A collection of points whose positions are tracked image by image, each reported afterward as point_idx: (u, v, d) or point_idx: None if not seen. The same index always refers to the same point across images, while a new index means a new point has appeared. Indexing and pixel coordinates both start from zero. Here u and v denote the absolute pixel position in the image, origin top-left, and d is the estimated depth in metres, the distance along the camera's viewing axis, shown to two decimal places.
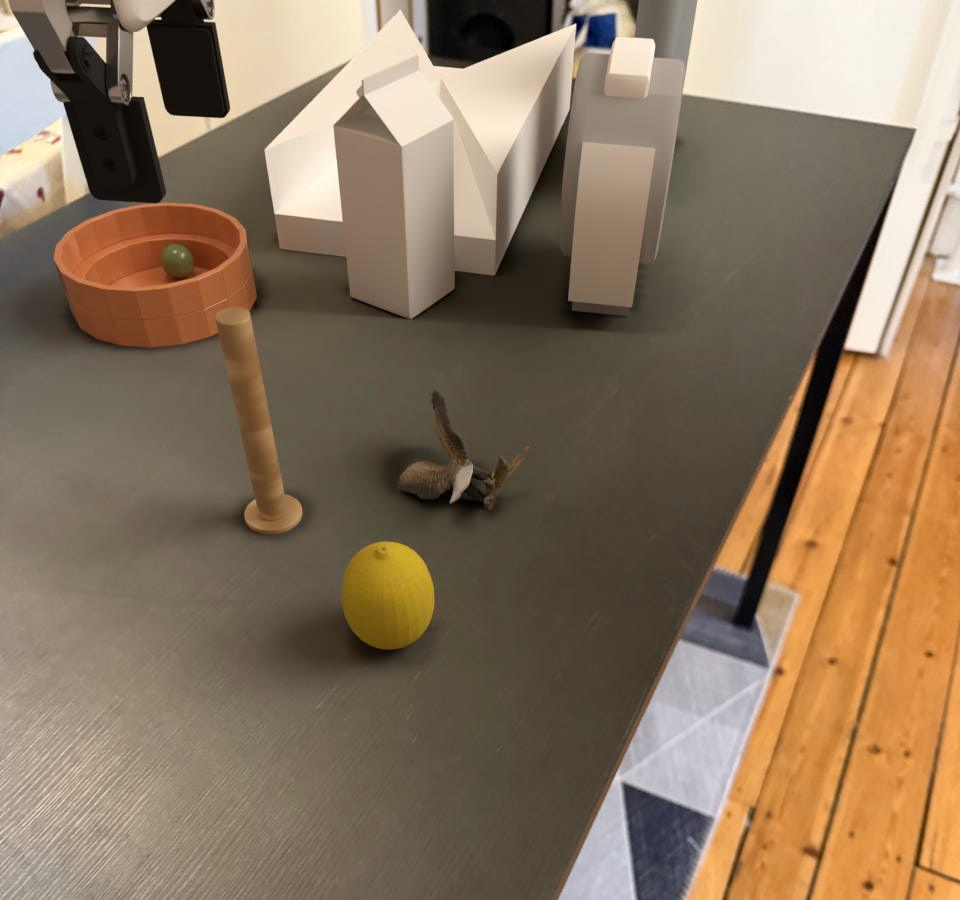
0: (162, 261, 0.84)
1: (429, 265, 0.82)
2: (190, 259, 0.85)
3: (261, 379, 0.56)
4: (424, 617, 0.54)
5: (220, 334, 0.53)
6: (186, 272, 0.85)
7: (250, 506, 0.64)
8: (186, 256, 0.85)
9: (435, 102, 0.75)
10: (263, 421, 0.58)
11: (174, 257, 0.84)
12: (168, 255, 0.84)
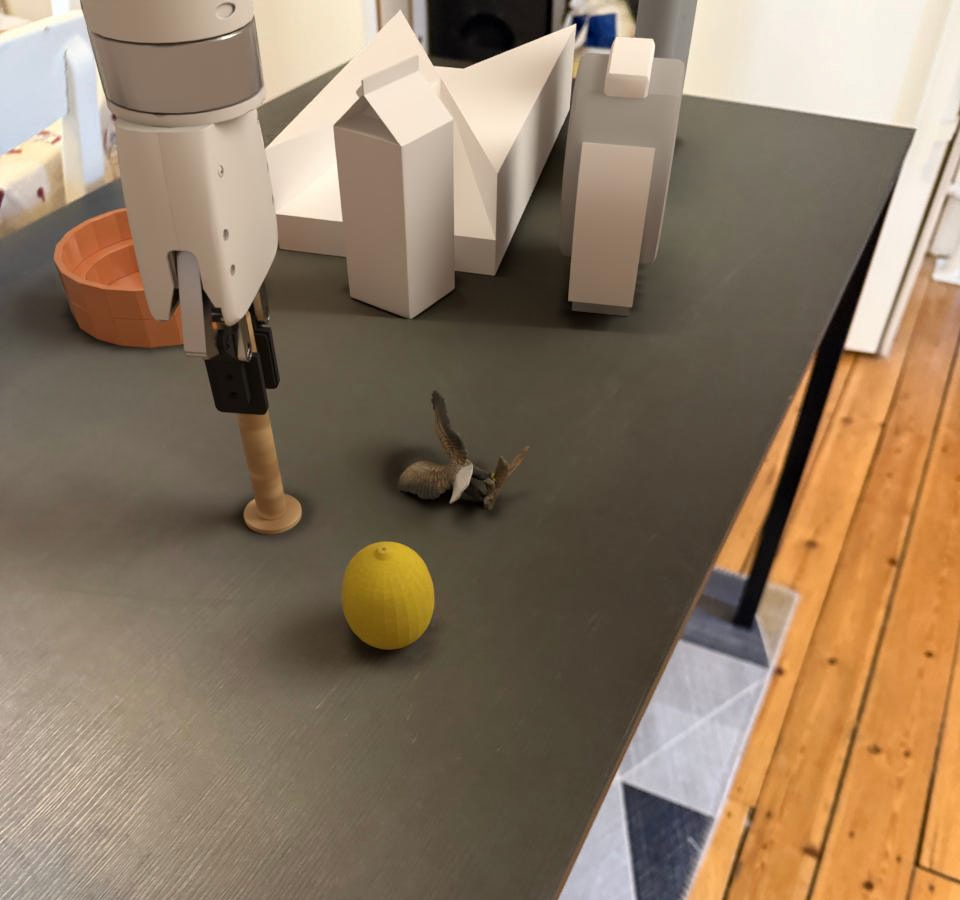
0: None
1: (429, 265, 0.82)
2: None
3: None
4: (424, 617, 0.54)
5: None
6: None
7: (250, 506, 0.64)
8: None
9: (435, 102, 0.75)
10: (263, 421, 0.58)
11: None
12: None
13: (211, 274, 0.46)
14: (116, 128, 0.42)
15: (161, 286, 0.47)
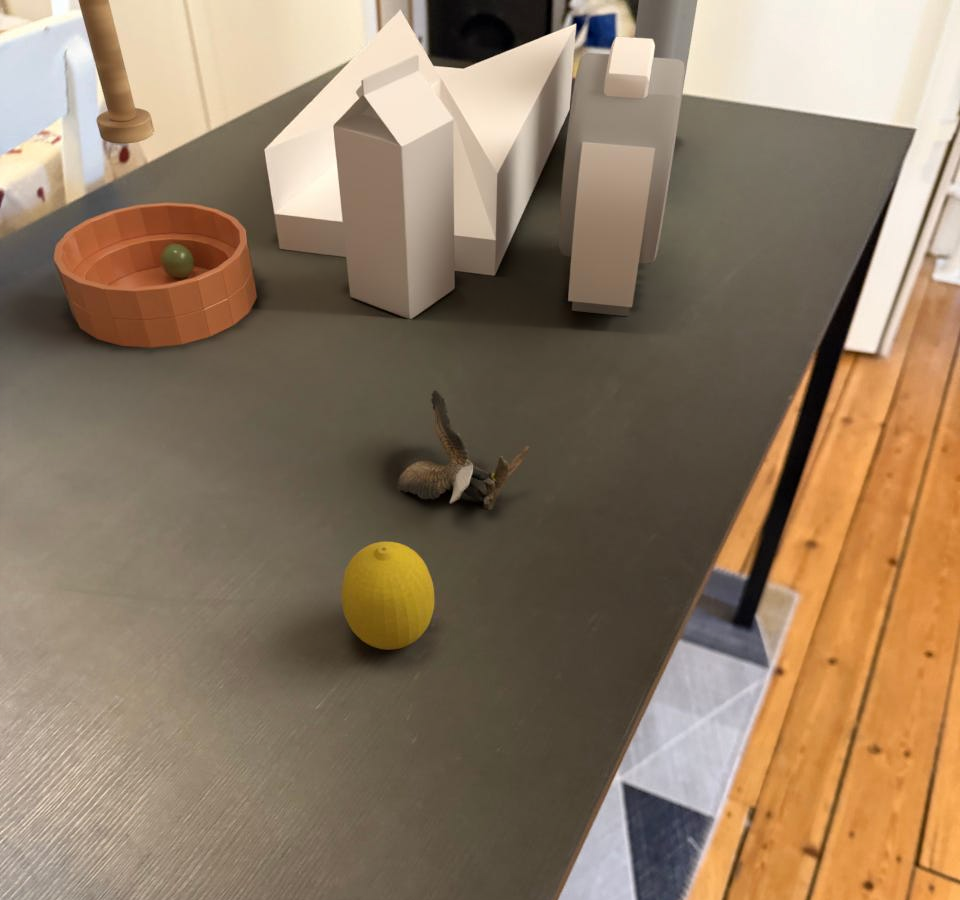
0: (162, 261, 0.84)
1: (429, 265, 0.82)
2: (190, 259, 0.85)
3: None
4: (424, 617, 0.54)
5: None
6: (186, 272, 0.85)
7: (103, 114, 0.70)
8: (186, 256, 0.85)
9: (435, 102, 0.75)
10: None
11: (174, 257, 0.84)
12: (168, 255, 0.84)
13: None
14: None
15: None
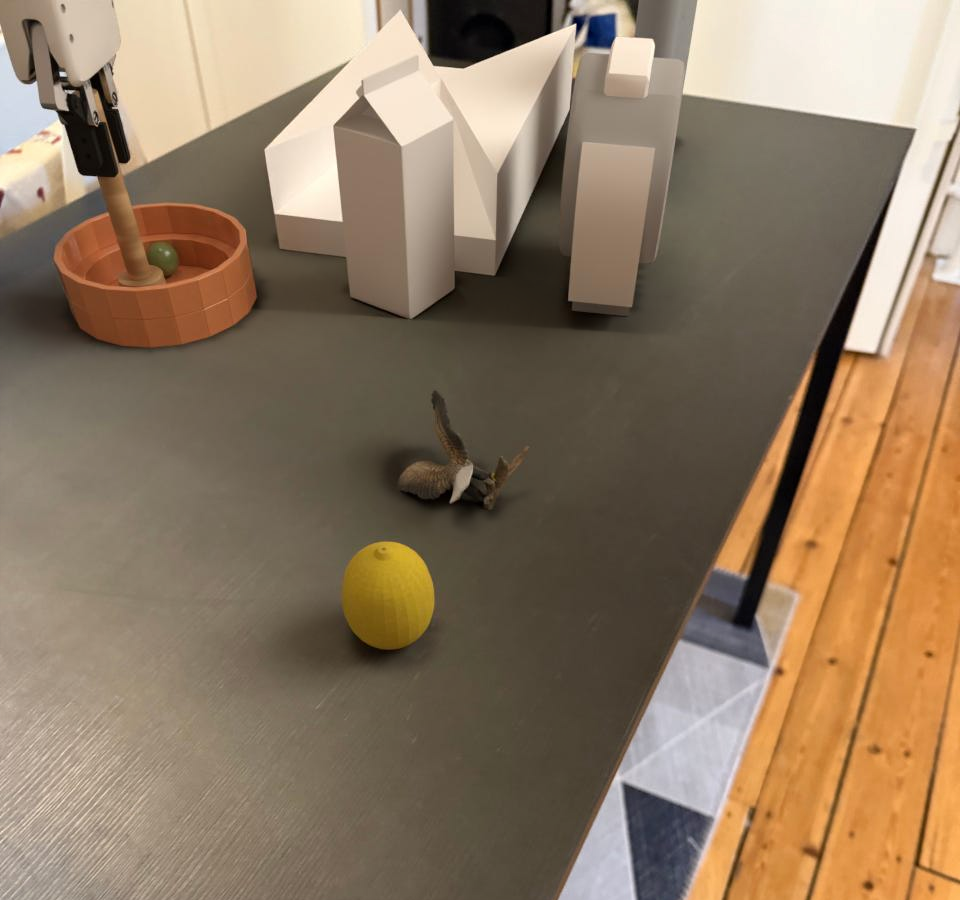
0: None
1: (429, 265, 0.82)
2: (165, 258, 0.84)
3: (113, 150, 0.74)
4: (424, 616, 0.54)
5: None
6: None
7: (124, 271, 0.83)
8: (161, 253, 0.84)
9: (435, 102, 0.75)
10: (118, 187, 0.76)
11: (151, 249, 0.84)
12: (149, 246, 0.85)
13: (54, 39, 0.64)
14: None
15: (20, 50, 0.65)
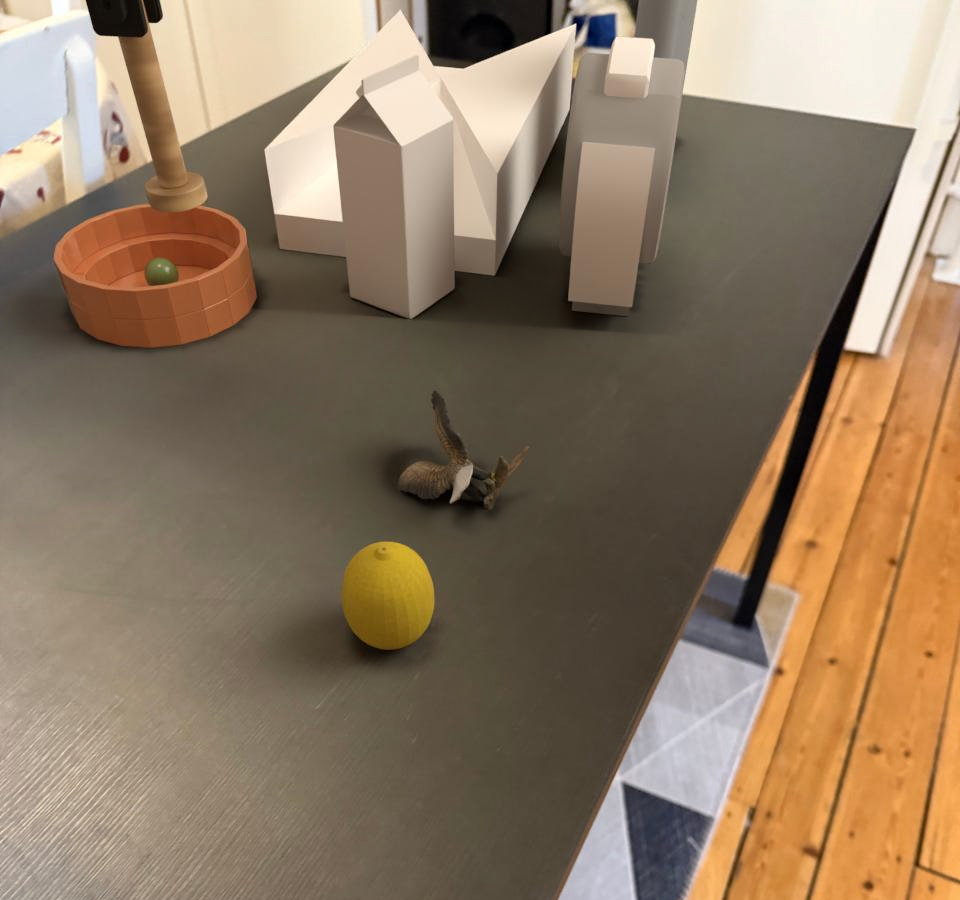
0: (146, 277, 0.83)
1: (429, 265, 0.82)
2: None
3: None
4: (424, 617, 0.54)
5: None
6: None
7: (153, 179, 0.64)
8: None
9: (435, 102, 0.75)
10: (147, 54, 0.57)
11: None
12: None
13: None
14: None
15: None
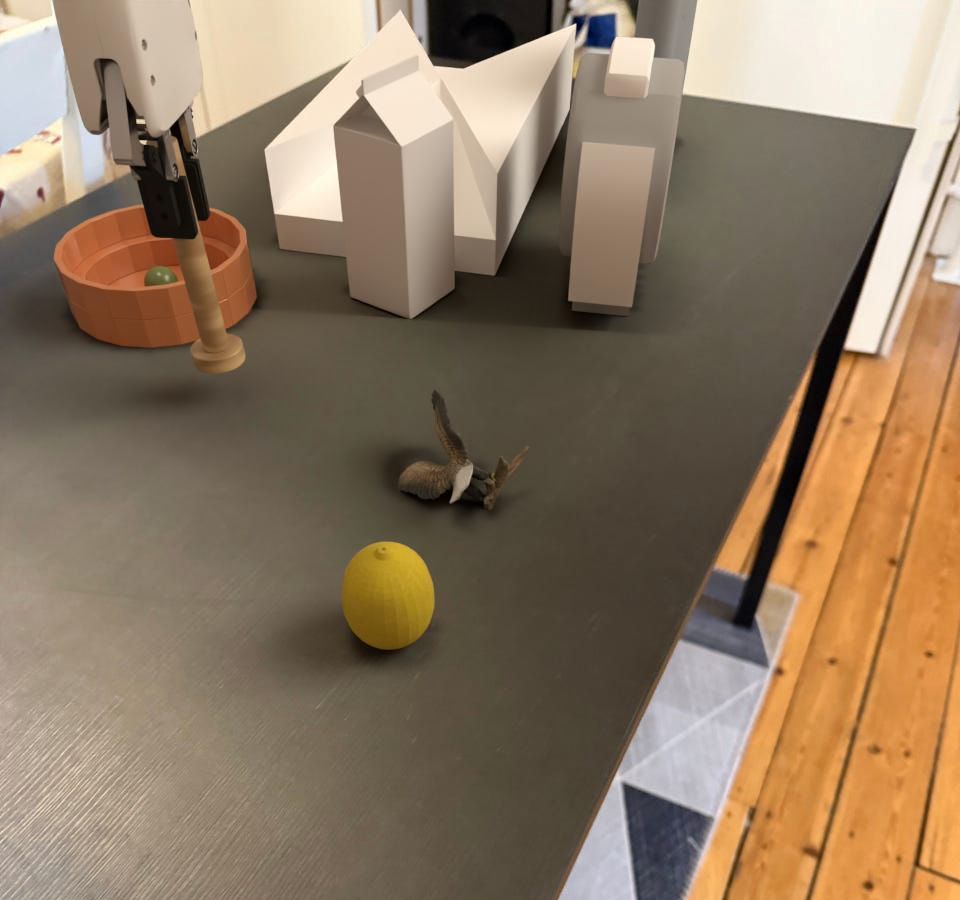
0: None
1: (429, 265, 0.82)
2: None
3: None
4: (424, 617, 0.54)
5: None
6: None
7: (197, 342, 0.71)
8: None
9: (435, 102, 0.75)
10: (196, 249, 0.64)
11: None
12: None
13: (133, 82, 0.53)
14: None
15: (90, 95, 0.53)
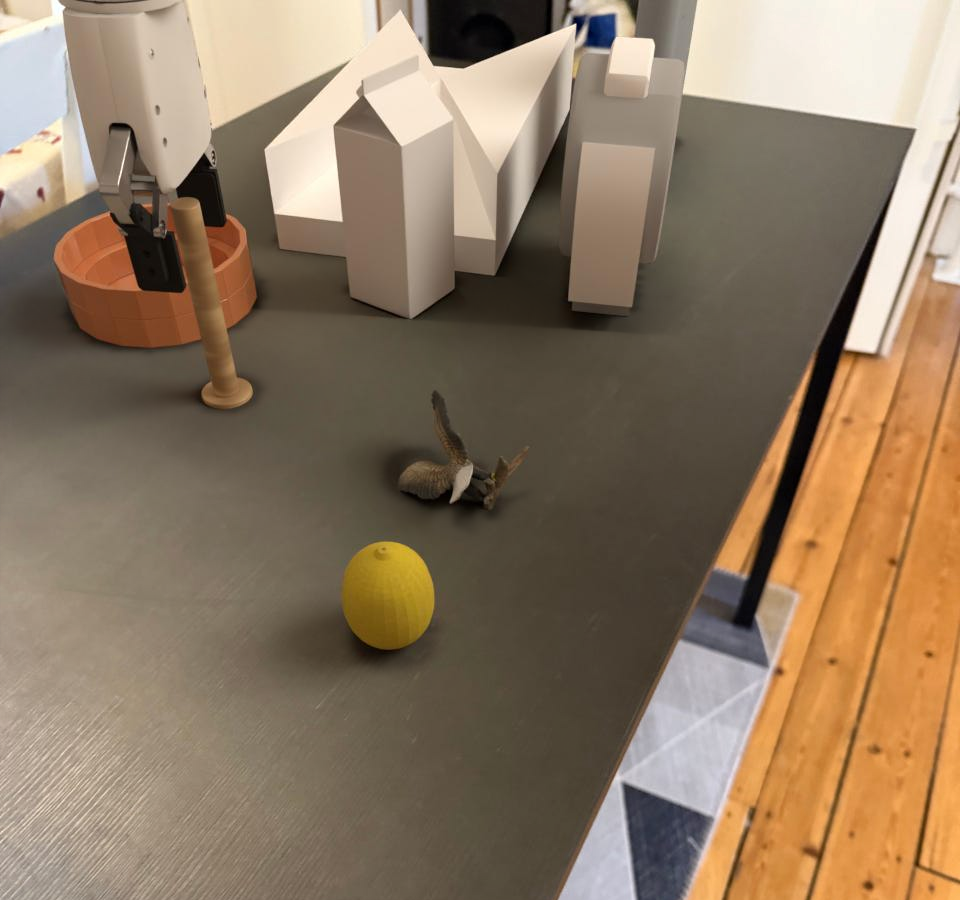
0: None
1: (429, 265, 0.82)
2: None
3: (210, 263, 0.66)
4: (424, 617, 0.54)
5: (173, 218, 0.63)
6: None
7: (208, 385, 0.74)
8: None
9: (435, 102, 0.75)
10: (212, 302, 0.67)
11: None
12: None
13: (146, 144, 0.55)
14: (64, 14, 0.51)
15: (105, 156, 0.56)
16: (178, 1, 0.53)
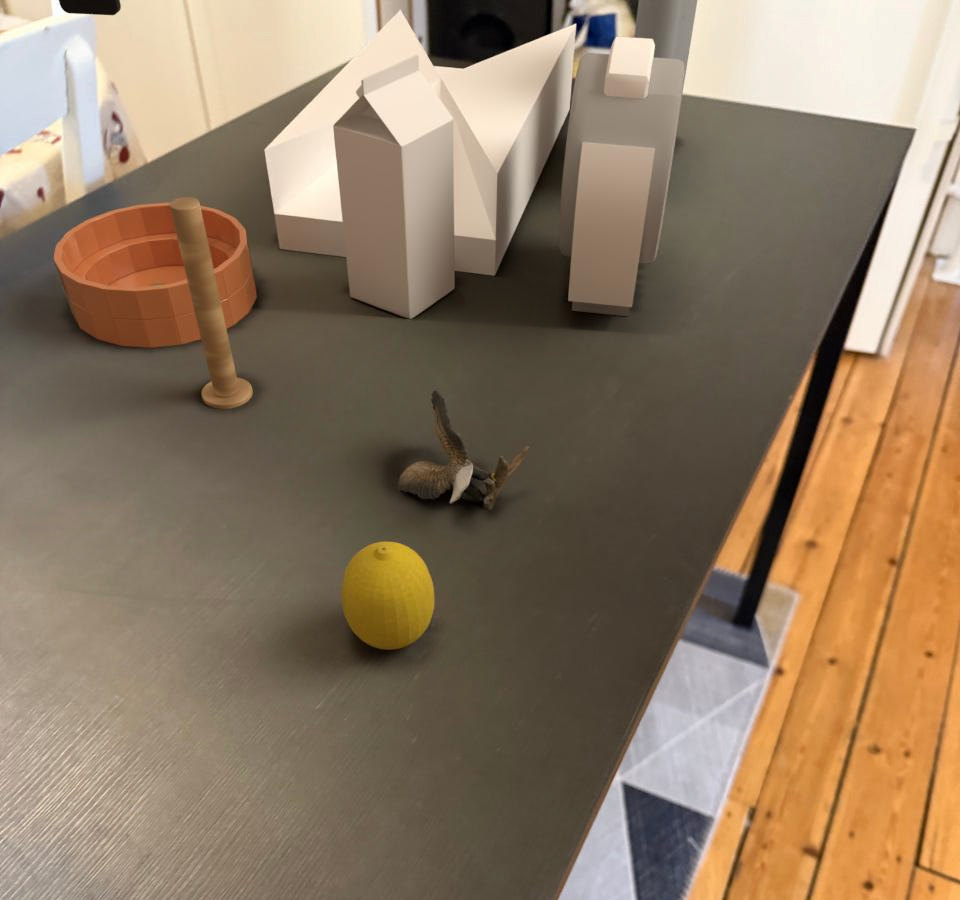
0: None
1: (429, 265, 0.82)
2: None
3: (210, 263, 0.66)
4: (424, 617, 0.54)
5: (173, 218, 0.63)
6: None
7: (208, 385, 0.74)
8: (160, 283, 0.80)
9: (435, 102, 0.75)
10: (212, 302, 0.67)
11: None
12: None
13: None
14: None
15: None
16: None
